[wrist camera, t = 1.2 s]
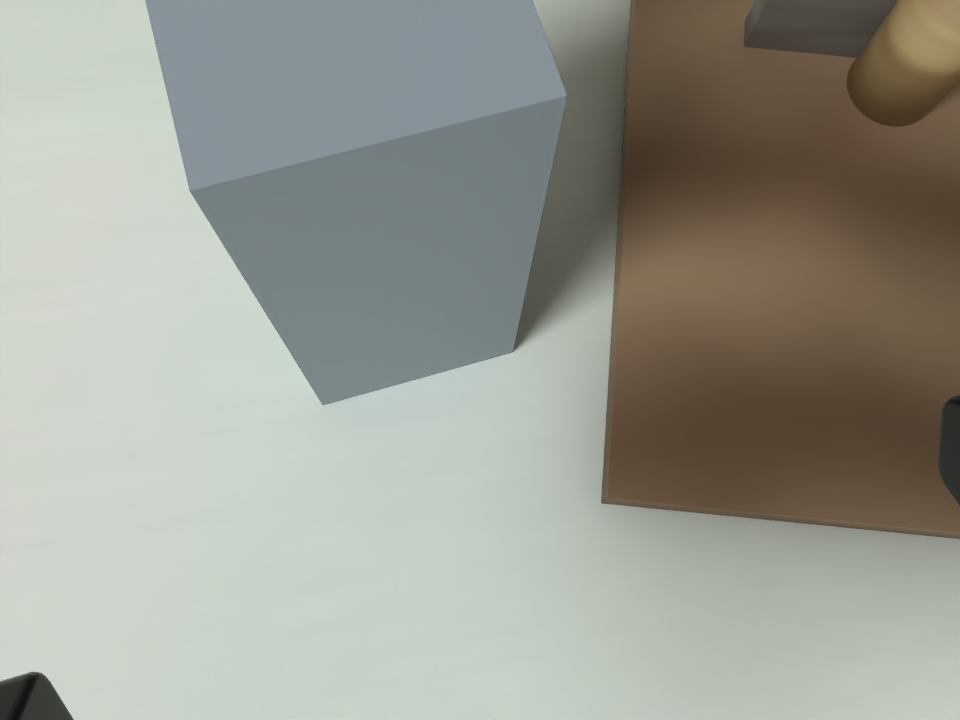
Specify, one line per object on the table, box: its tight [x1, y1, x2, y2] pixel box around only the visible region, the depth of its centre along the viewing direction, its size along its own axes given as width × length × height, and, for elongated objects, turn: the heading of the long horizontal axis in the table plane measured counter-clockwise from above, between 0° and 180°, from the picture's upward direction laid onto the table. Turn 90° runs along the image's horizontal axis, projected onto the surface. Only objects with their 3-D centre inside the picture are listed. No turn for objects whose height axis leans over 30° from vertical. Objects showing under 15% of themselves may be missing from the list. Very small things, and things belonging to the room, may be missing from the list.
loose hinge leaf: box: [145, 0, 567, 405], centre depth 18 cm, size 6×5×12 cm
